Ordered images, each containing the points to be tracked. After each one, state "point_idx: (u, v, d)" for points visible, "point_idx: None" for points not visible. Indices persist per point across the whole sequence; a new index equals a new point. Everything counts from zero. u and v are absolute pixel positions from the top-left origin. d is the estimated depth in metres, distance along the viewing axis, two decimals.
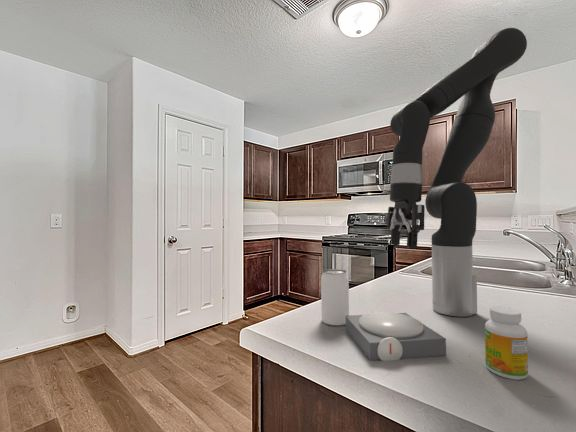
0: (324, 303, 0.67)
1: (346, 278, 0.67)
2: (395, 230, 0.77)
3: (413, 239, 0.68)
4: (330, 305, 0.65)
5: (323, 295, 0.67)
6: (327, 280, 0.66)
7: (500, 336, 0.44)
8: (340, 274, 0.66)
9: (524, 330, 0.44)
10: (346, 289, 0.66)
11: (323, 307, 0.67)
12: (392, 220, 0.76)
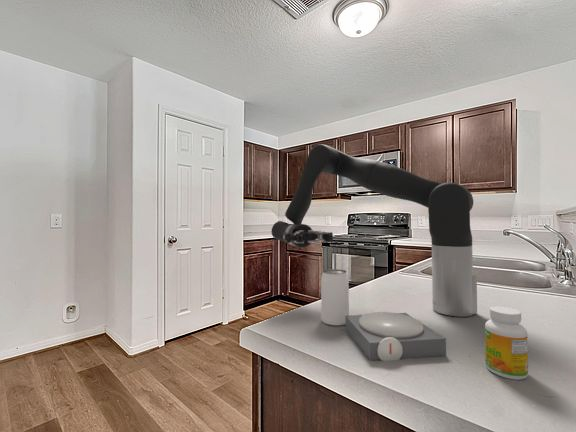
0: (324, 303, 0.67)
1: (346, 278, 0.67)
2: (324, 237, 0.84)
3: (295, 239, 0.80)
4: (330, 305, 0.65)
5: (323, 295, 0.67)
6: (328, 280, 0.66)
7: (500, 336, 0.44)
8: (340, 274, 0.66)
9: (524, 330, 0.44)
10: (346, 289, 0.66)
11: (323, 307, 0.67)
12: None
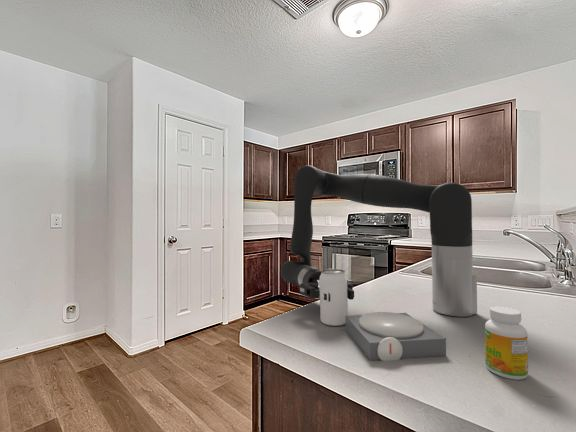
0: (323, 303, 0.66)
1: (344, 278, 0.66)
2: None
3: None
4: (328, 305, 0.65)
5: (321, 295, 0.67)
6: (325, 280, 0.66)
7: (500, 336, 0.44)
8: (338, 274, 0.66)
9: (524, 330, 0.44)
10: (344, 289, 0.66)
11: (321, 307, 0.67)
12: None
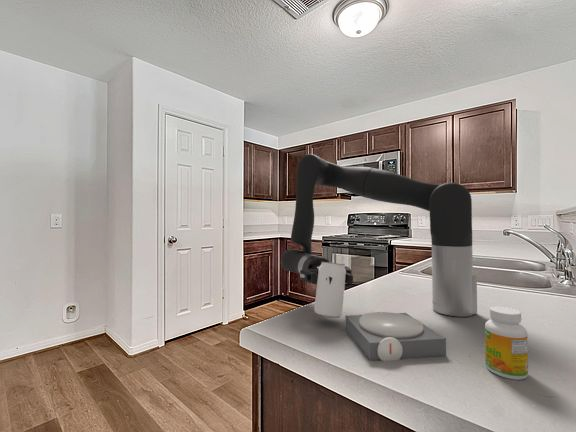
0: (317, 292, 0.66)
1: (342, 270, 0.66)
2: None
3: None
4: (322, 294, 0.65)
5: (317, 284, 0.67)
6: (323, 268, 0.67)
7: (500, 336, 0.44)
8: (336, 264, 0.66)
9: (524, 330, 0.44)
10: (340, 281, 0.65)
11: (316, 296, 0.67)
12: None
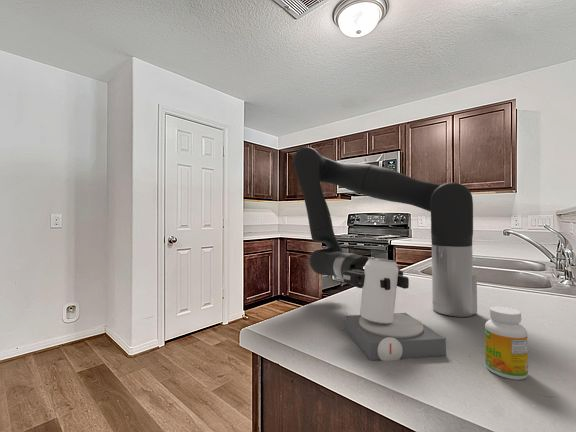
0: (363, 293, 0.57)
1: (393, 268, 0.55)
2: None
3: None
4: (369, 296, 0.56)
5: None
6: (370, 266, 0.57)
7: (500, 336, 0.44)
8: (386, 261, 0.55)
9: (524, 330, 0.44)
10: (392, 281, 0.55)
11: (362, 298, 0.58)
12: None
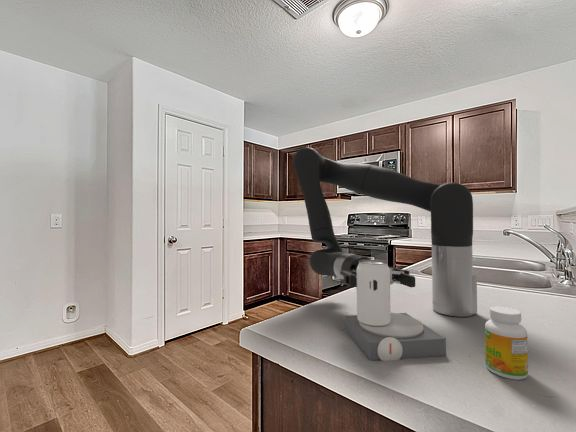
0: (357, 297, 0.57)
1: (383, 270, 0.55)
2: (400, 279, 0.60)
3: None
4: (362, 300, 0.56)
5: (357, 288, 0.58)
6: (360, 270, 0.56)
7: (500, 336, 0.44)
8: (374, 265, 0.55)
9: (524, 330, 0.44)
10: (383, 284, 0.55)
11: (357, 302, 0.58)
12: None
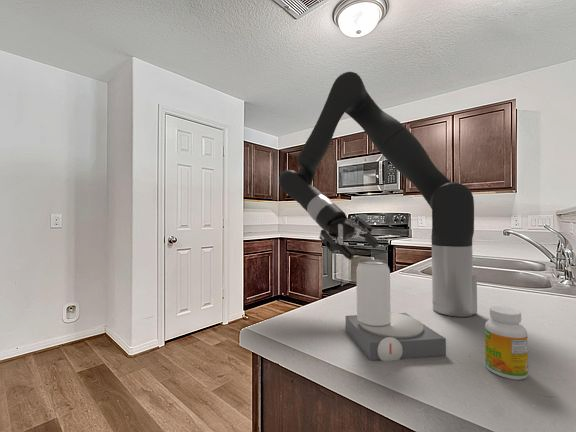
0: (357, 297, 0.57)
1: (383, 270, 0.55)
2: (365, 236, 0.77)
3: (343, 253, 0.72)
4: (362, 300, 0.56)
5: (357, 288, 0.58)
6: (360, 270, 0.56)
7: (500, 336, 0.44)
8: (374, 265, 0.55)
9: (524, 330, 0.44)
10: (383, 284, 0.55)
11: (357, 302, 0.58)
12: None
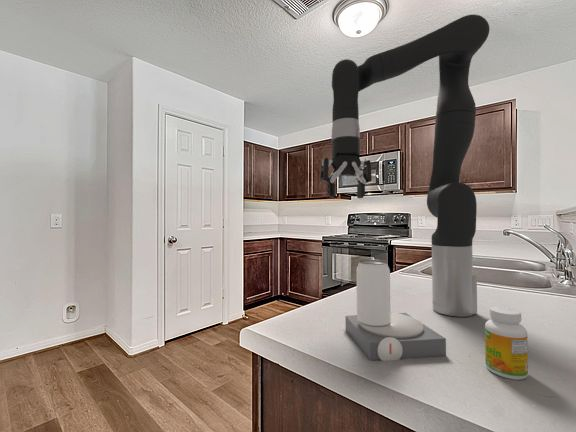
0: (357, 297, 0.57)
1: (383, 270, 0.55)
2: (359, 184, 0.79)
3: (328, 189, 0.77)
4: (362, 300, 0.56)
5: (357, 288, 0.58)
6: (360, 270, 0.56)
7: (500, 336, 0.44)
8: (374, 265, 0.55)
9: (524, 330, 0.44)
10: (383, 284, 0.55)
11: (357, 302, 0.58)
12: None
